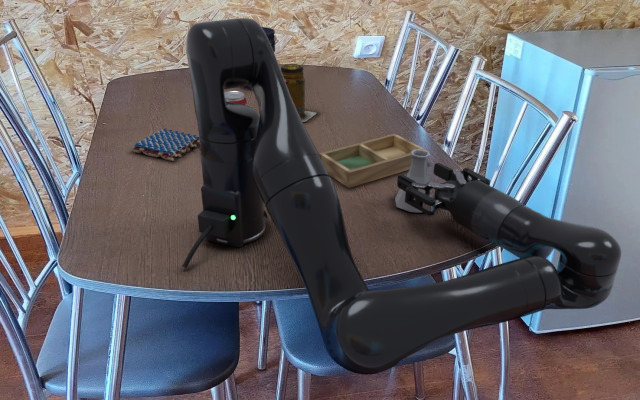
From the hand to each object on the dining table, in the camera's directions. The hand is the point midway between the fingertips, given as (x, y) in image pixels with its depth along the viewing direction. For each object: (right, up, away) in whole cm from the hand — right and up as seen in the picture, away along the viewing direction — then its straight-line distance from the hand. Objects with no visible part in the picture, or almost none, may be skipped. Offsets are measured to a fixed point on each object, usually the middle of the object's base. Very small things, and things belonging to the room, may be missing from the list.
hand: (417, 173), depth 98 cm
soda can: (-35, +6, +22) cm, 42 cm away
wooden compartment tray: (-6, +2, +16) cm, 17 cm away
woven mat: (-49, +6, +22) cm, 54 cm away
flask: (0, -5, +3) cm, 6 cm away
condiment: (-23, +16, +40) cm, 49 cm away
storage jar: (-34, +28, +61) cm, 75 cm away
